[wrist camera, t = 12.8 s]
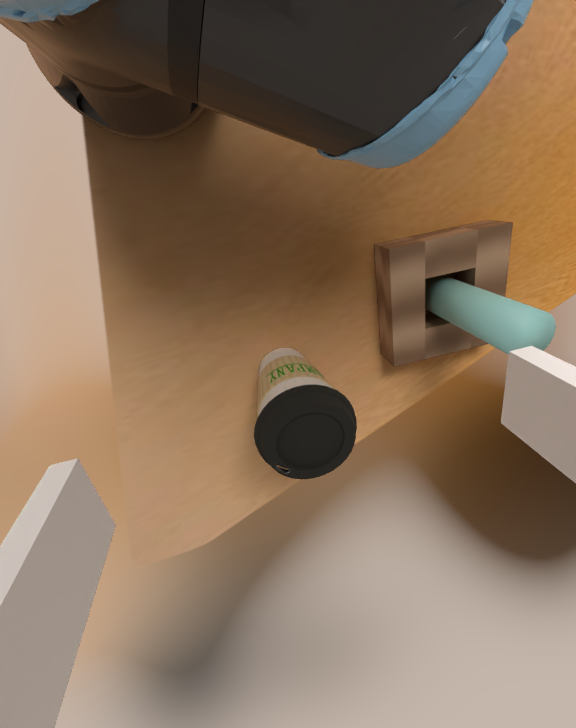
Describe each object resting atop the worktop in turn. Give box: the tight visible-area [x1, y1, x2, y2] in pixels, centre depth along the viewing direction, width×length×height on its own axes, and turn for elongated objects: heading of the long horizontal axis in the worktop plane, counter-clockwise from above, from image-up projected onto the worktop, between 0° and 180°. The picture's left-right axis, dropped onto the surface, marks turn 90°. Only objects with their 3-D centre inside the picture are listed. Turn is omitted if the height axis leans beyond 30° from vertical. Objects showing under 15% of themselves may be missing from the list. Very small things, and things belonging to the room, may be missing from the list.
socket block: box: [374, 220, 513, 367], centre depth 43 cm, size 14×14×4 cm
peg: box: [425, 275, 556, 354], centre depth 38 cm, size 4×4×16 cm
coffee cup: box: [254, 348, 357, 479], centre depth 39 cm, size 10×10×15 cm
